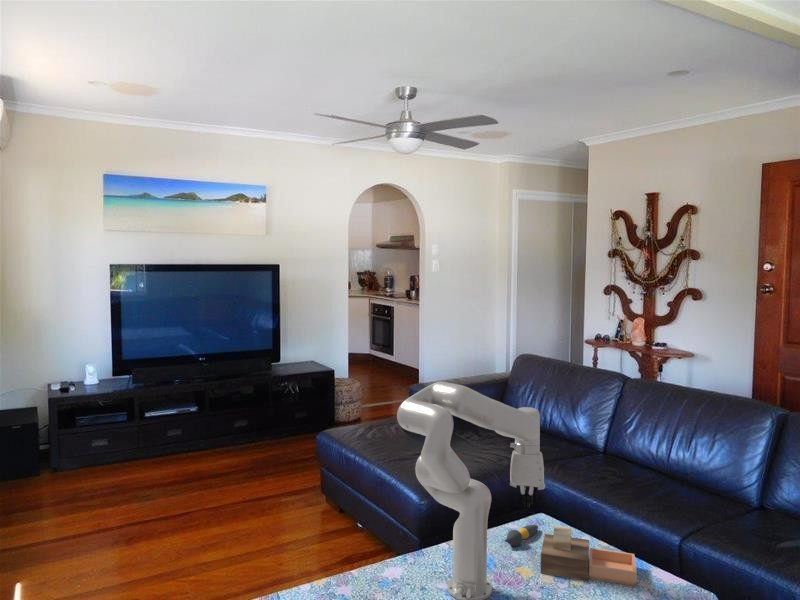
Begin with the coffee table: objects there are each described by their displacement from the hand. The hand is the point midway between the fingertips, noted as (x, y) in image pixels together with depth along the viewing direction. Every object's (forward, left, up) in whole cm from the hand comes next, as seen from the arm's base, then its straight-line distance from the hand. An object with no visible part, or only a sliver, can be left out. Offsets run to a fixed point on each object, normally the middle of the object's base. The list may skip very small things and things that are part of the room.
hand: (527, 505), depth 187 cm
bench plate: (0, -12, -17) cm, 21 cm away
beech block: (0, -11, -9) cm, 14 cm away
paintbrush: (+14, +3, -18) cm, 22 cm away
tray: (0, -25, -17) cm, 30 cm away
